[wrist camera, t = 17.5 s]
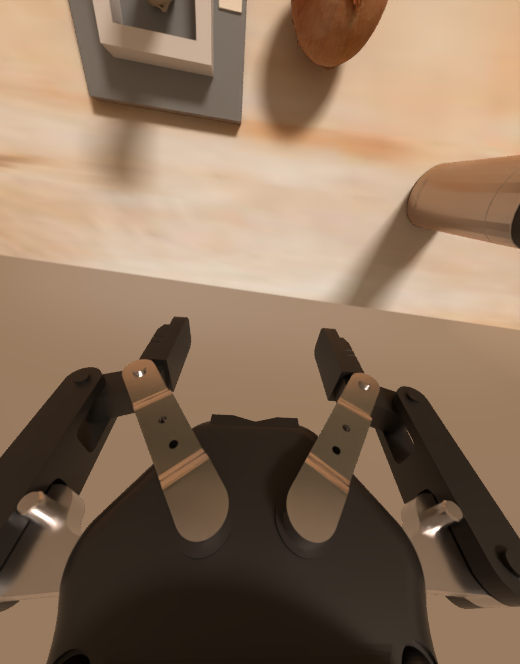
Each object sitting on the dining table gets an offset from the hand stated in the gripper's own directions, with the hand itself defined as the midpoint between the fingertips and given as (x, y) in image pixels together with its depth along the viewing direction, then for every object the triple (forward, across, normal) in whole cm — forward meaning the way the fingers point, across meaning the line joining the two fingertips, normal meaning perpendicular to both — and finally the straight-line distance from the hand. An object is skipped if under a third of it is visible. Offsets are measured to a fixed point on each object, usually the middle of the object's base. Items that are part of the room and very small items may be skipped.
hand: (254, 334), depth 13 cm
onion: (+32, -6, -22) cm, 39 cm away
